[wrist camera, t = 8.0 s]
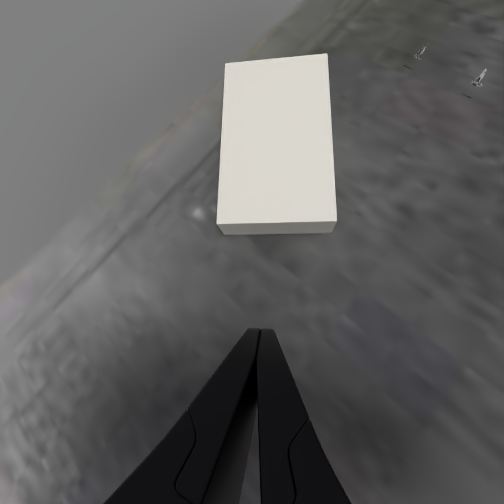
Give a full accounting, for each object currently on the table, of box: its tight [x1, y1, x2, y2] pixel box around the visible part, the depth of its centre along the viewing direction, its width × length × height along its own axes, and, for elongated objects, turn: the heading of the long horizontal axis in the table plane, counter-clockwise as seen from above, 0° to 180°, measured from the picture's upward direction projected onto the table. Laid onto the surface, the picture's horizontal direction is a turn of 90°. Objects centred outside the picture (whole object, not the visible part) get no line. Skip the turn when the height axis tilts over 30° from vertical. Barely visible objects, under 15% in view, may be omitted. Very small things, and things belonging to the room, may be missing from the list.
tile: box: [217, 54, 337, 235], centre depth 19 cm, size 2×7×12 cm
